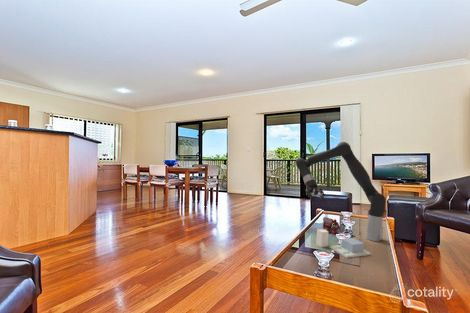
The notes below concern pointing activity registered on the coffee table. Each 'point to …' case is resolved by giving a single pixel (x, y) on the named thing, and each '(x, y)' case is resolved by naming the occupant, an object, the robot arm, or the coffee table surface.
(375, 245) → the coffee table surface
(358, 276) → the coffee table surface
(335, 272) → the coffee table surface
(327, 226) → the dark red irregular lump
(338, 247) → the building plate
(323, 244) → the cream column brick
